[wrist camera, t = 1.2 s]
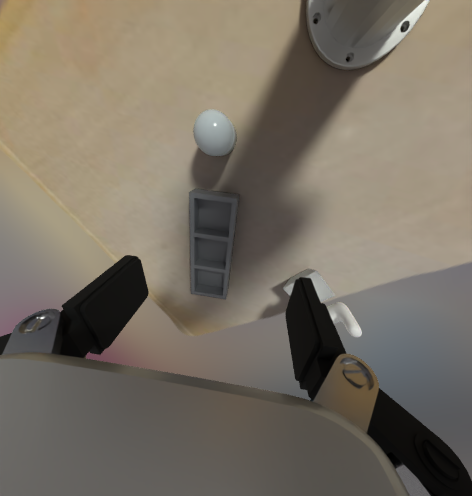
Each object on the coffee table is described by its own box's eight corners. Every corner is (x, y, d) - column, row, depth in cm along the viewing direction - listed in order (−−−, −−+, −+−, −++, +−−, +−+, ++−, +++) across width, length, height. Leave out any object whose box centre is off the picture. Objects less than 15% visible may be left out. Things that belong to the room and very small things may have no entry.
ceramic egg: (205, 115, 26) (187, 101, 19) (238, 119, 25) (232, 107, 19) (204, 153, 28) (188, 153, 21) (234, 157, 28) (228, 158, 21)
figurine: (276, 279, 38) (286, 344, 25) (316, 257, 35) (353, 320, 21) (294, 299, 40) (311, 369, 27) (333, 281, 37) (376, 351, 24)
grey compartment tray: (195, 188, 31) (189, 192, 28) (239, 194, 30) (237, 198, 28) (195, 283, 41) (191, 293, 38) (228, 289, 41) (225, 299, 38)
